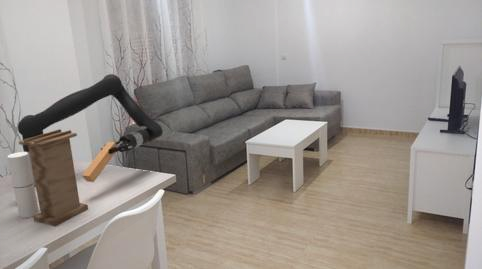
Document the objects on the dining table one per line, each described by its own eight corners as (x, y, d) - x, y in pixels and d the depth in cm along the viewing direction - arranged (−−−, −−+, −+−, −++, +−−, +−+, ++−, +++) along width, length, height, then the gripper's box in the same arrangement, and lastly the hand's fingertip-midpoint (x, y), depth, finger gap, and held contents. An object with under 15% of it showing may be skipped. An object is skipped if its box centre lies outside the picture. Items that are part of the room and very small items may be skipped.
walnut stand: (34, 221, 158) (18, 139, 150) (67, 204, 172) (54, 128, 163) (55, 226, 153) (40, 141, 144) (88, 209, 167) (76, 130, 158)
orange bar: (86, 181, 175) (81, 175, 173) (112, 147, 188) (108, 141, 185) (93, 182, 173) (88, 176, 171) (118, 148, 186) (114, 142, 183)
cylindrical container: (25, 219, 160) (13, 158, 154) (15, 215, 164) (3, 156, 157) (42, 211, 166) (31, 153, 160) (32, 208, 170) (21, 151, 163)
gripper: (118, 132, 198) (92, 142, 183) (142, 134, 192) (116, 144, 177) (120, 147, 200) (94, 158, 185) (143, 149, 194) (118, 161, 179)
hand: (105, 151), depth 181 cm, fingers closed on orange bar, 4 cm apart
